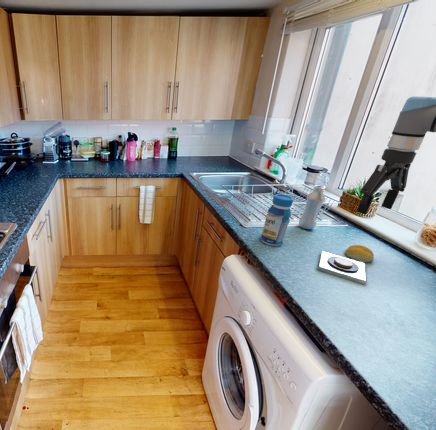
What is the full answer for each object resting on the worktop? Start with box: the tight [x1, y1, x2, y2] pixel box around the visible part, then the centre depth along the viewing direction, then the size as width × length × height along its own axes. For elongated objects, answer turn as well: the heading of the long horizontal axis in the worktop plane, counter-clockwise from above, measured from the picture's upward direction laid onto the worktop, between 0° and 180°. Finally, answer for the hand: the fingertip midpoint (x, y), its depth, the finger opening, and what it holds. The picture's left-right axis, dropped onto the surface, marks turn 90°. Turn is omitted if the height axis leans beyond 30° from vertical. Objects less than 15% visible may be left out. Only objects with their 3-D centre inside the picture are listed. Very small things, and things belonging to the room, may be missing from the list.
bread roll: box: [344, 244, 375, 263], centre depth 109 cm, size 8×9×4 cm
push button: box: [317, 250, 367, 285], centre depth 102 cm, size 13×13×3 cm
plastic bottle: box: [298, 184, 326, 230], centre depth 127 cm, size 6×7×20 cm
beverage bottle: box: [260, 193, 294, 247], centre depth 115 cm, size 8×8×20 cm
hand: (373, 210), depth 100 cm, fingers open, 13 cm apart
